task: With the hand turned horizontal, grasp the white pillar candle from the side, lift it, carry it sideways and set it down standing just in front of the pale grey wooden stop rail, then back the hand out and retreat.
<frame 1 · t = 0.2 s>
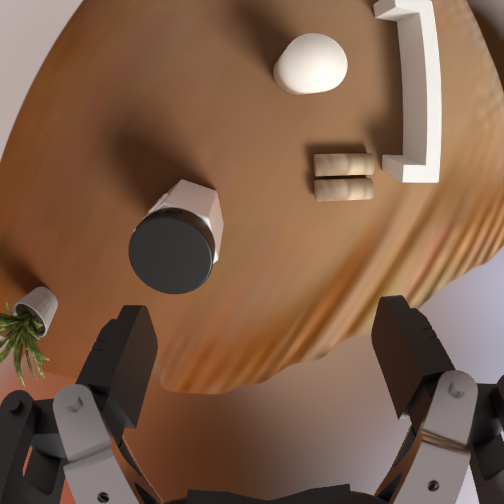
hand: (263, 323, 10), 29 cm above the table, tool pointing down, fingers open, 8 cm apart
stop rail: (409, 87, 31), on the table
roller a: (340, 162, 36), on the table
house plant: (41, 298, 45), on the table
roller b: (340, 185, 37), on the table, tilted 5°
jar: (190, 212, 39), on the table
white pillar candle: (295, 73, 31), on the table
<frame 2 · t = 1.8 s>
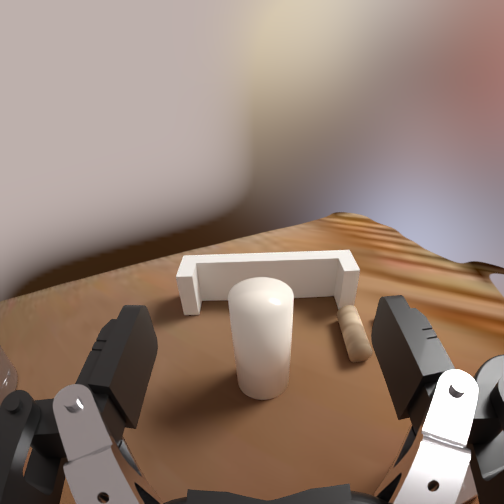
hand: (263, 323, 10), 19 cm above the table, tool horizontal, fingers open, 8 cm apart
stop rail: (268, 294, 43), on the table
roller a: (356, 339, 34), on the table, tilted 24°
jar: (446, 473, 18), on the table
white pillar candle: (263, 379, 30), on the table
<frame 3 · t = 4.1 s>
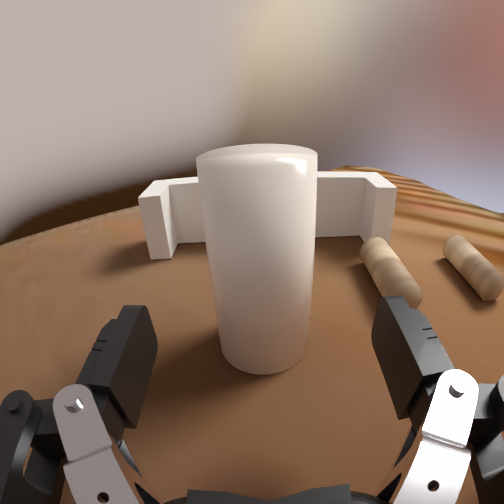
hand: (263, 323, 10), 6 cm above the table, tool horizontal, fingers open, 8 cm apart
stop rail: (269, 234, 31), on the table
roller a: (400, 277, 22), point 1 cm above the table, tilted 67°
roller b: (480, 253, 21), point 2 cm above the table, tilted 155°
white pillar candle: (264, 341, 18), on the table
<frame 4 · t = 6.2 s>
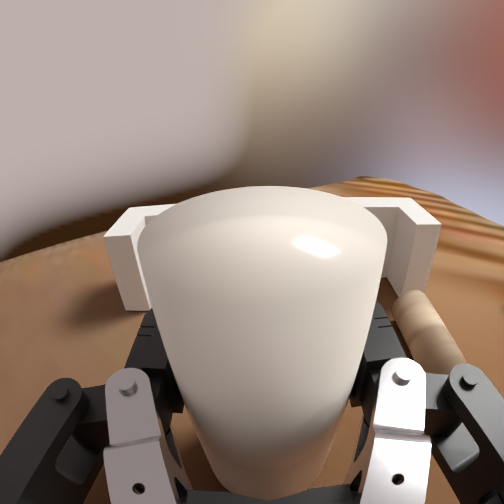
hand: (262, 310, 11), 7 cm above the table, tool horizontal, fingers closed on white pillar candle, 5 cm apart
stop rail: (274, 276, 25), on the table
roller a: (442, 345, 16), point 1 cm above the table, tilted 66°
white pillar candle: (267, 452, 12), on the table, touching gripper
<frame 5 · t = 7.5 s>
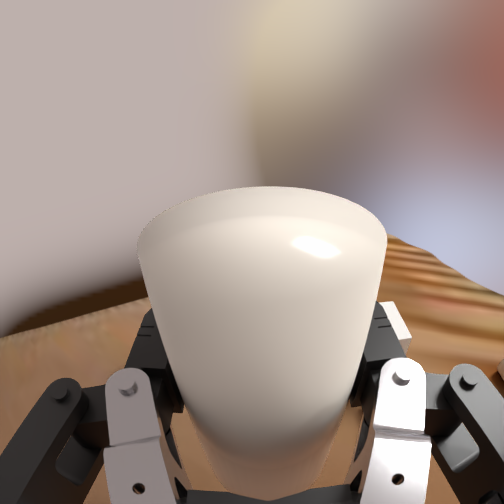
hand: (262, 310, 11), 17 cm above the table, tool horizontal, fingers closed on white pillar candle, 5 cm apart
stop rail: (278, 363, 29), on the table
white pillar candle: (267, 452, 12), point 10 cm above the table, touching gripper
when the fingers open (7 cm above the table, at t = 10.9 s): white pillar candle stays where it is, on the table.
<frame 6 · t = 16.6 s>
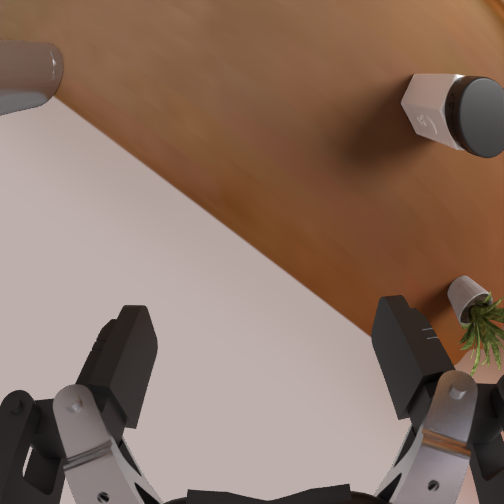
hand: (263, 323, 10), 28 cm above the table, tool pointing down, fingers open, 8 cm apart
house plant: (456, 294, 45), on the table
jar: (429, 104, 31), on the table
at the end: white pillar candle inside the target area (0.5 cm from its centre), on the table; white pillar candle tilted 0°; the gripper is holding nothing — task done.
